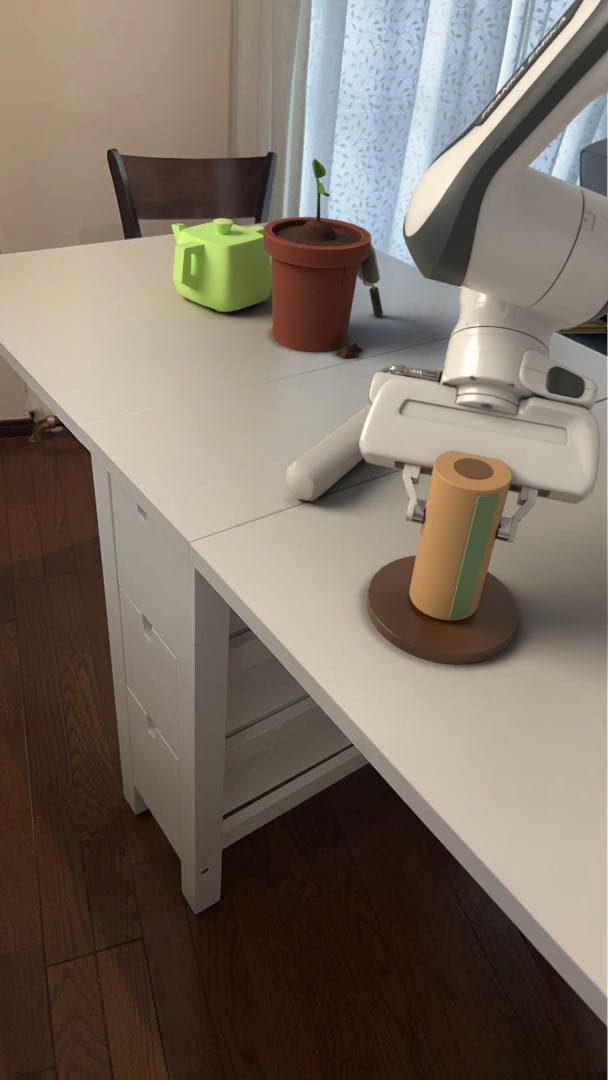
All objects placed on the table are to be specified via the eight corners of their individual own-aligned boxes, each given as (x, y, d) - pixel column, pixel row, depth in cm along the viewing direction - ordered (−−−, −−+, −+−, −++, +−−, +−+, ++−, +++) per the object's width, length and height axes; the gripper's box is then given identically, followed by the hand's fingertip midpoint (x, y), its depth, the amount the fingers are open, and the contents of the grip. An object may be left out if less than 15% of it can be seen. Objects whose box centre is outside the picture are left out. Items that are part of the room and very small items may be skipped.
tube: (324, 485, 84) (425, 398, 101) (284, 455, 85) (391, 374, 102) (307, 518, 87) (407, 429, 105) (269, 490, 88) (375, 406, 106)
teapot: (133, 294, 134) (128, 213, 126) (218, 270, 147) (218, 195, 139) (209, 327, 125) (209, 242, 117) (293, 298, 138) (298, 220, 130)
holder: (530, 592, 78) (534, 580, 77) (494, 686, 68) (498, 673, 67) (396, 548, 82) (398, 536, 81) (343, 629, 72) (344, 617, 71)
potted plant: (253, 313, 131) (258, 147, 116) (381, 314, 135) (402, 153, 120) (265, 358, 117) (272, 176, 102) (407, 358, 121) (434, 182, 106)
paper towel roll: (453, 569, 77) (482, 443, 69) (493, 612, 73) (529, 482, 64) (396, 584, 75) (419, 455, 67) (434, 629, 70) (464, 497, 62)
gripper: (374, 345, 69) (338, 497, 67) (618, 387, 66) (587, 549, 64) (378, 373, 75) (344, 513, 73) (600, 413, 72) (572, 561, 70)
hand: (459, 530), depth 68 cm, fingers closed on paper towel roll, 6 cm apart
